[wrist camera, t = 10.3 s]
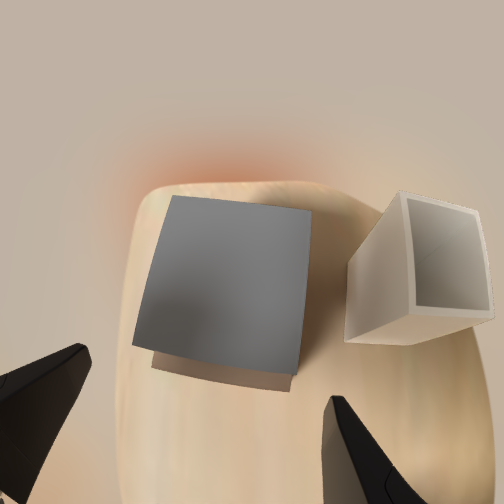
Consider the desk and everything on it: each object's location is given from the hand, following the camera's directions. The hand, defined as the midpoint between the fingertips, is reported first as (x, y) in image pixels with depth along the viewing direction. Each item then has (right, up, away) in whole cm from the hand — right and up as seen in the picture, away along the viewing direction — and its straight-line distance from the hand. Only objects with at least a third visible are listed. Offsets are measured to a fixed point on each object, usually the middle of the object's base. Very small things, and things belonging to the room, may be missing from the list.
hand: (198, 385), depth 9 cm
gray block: (+1, +2, +8) cm, 8 cm away
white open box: (+12, 0, +12) cm, 17 cm away
